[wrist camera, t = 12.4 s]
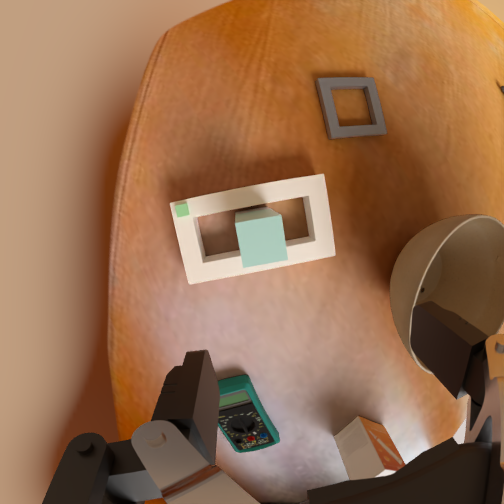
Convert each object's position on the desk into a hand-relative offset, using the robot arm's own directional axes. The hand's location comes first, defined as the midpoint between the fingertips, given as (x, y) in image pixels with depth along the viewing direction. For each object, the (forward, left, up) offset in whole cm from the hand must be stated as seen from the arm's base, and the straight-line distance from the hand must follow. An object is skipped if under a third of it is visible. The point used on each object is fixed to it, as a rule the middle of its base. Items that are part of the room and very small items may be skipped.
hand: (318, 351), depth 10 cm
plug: (+1, -2, -23) cm, 23 cm away
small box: (-11, +37, -23) cm, 45 cm away
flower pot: (-20, +8, -23) cm, 32 cm away
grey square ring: (-13, -14, -23) cm, 30 cm away
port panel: (+1, -2, -23) cm, 23 cm away
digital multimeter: (+8, +25, -24) cm, 36 cm away
